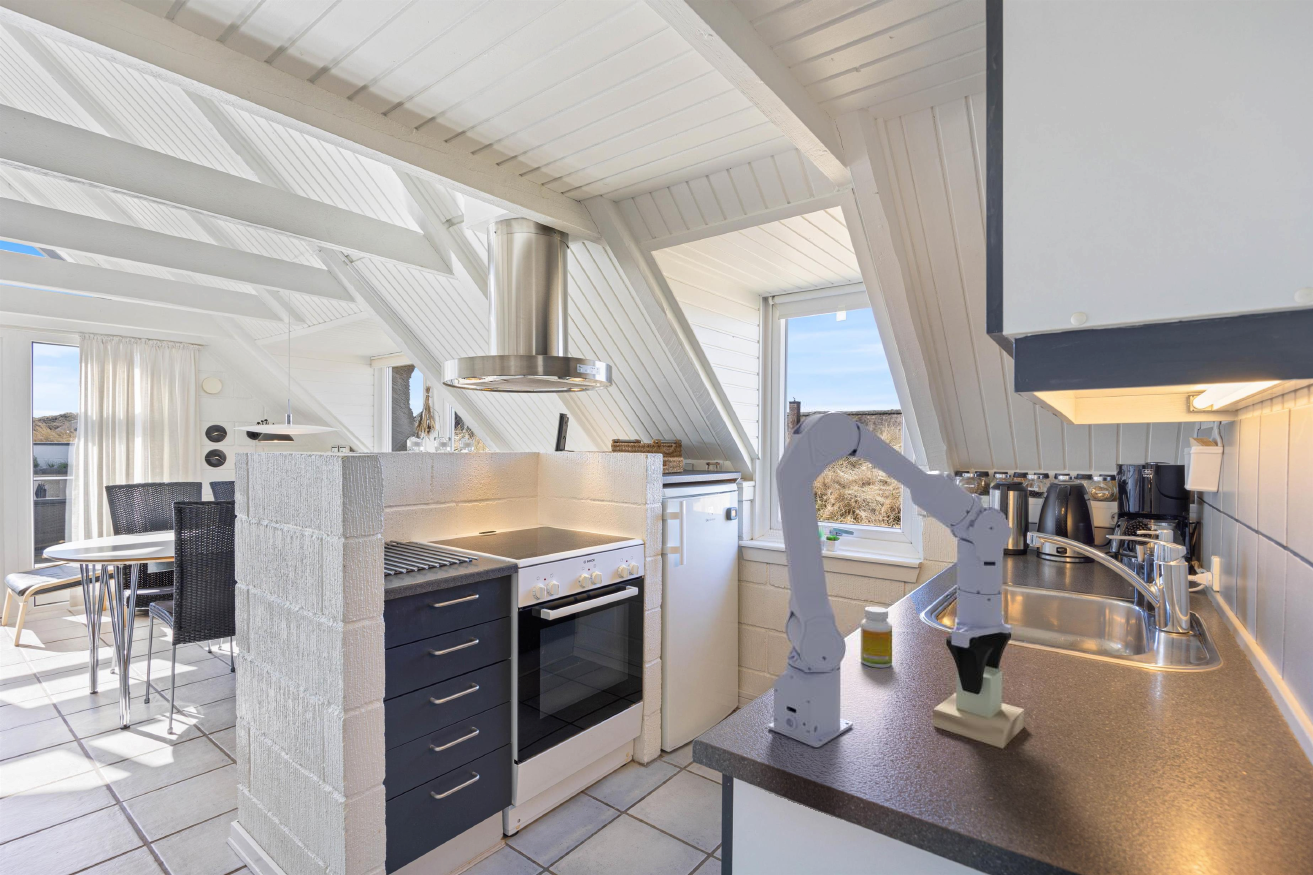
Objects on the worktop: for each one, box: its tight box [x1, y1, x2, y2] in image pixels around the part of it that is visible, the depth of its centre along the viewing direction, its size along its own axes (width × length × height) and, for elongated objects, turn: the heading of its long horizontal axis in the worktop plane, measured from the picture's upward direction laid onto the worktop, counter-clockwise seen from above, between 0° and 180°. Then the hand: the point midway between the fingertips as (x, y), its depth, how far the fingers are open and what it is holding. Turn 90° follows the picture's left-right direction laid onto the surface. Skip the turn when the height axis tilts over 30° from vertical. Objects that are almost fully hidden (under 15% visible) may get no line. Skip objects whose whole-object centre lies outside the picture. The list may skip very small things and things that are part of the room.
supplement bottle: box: [860, 606, 893, 669], centre depth 115 cm, size 5×5×10 cm
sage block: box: [955, 666, 1003, 719], centre depth 90 cm, size 4×4×6 cm
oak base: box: [932, 692, 1025, 749], centre depth 90 cm, size 9×9×3 cm
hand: (978, 686), depth 90 cm, fingers open, 5 cm apart
